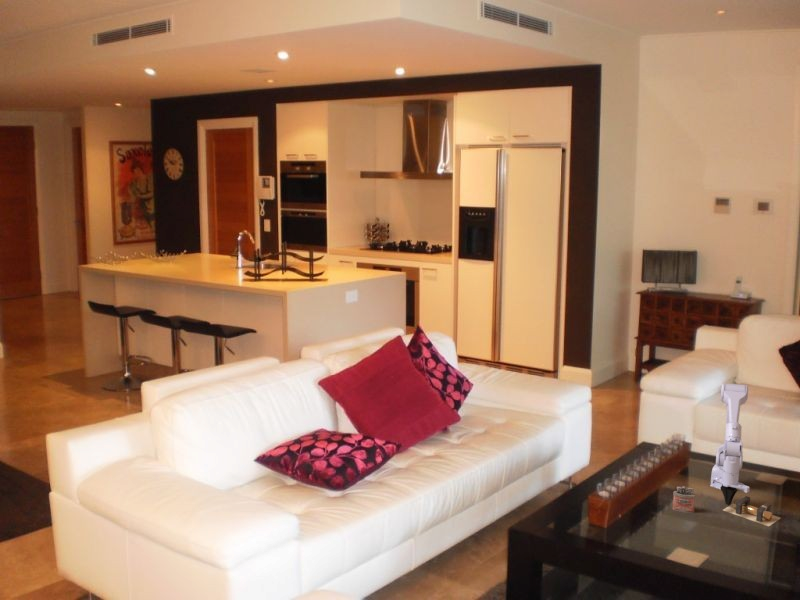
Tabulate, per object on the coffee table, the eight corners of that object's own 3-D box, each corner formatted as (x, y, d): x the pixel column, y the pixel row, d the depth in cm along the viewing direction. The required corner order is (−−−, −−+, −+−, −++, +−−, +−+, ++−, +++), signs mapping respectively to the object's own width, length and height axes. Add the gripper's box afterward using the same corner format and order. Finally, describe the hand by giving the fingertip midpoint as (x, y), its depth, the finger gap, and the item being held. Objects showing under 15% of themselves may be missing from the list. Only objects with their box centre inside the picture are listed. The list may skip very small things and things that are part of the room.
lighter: (671, 511, 321) (673, 487, 319) (672, 508, 324) (674, 483, 322) (694, 515, 318) (695, 490, 316) (694, 511, 321) (696, 487, 319)
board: (722, 511, 321) (723, 498, 320) (734, 503, 327) (735, 491, 326) (768, 527, 307) (769, 514, 306) (781, 519, 314) (782, 506, 313)
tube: (732, 509, 321) (732, 501, 321) (736, 506, 323) (736, 499, 323) (768, 521, 311) (769, 513, 310) (772, 519, 313) (772, 511, 312)
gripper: (708, 468, 324) (705, 501, 326) (744, 479, 313) (741, 513, 316) (717, 463, 328) (714, 495, 331) (753, 474, 318) (750, 507, 321)
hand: (728, 504), depth 324 cm, fingers closed
